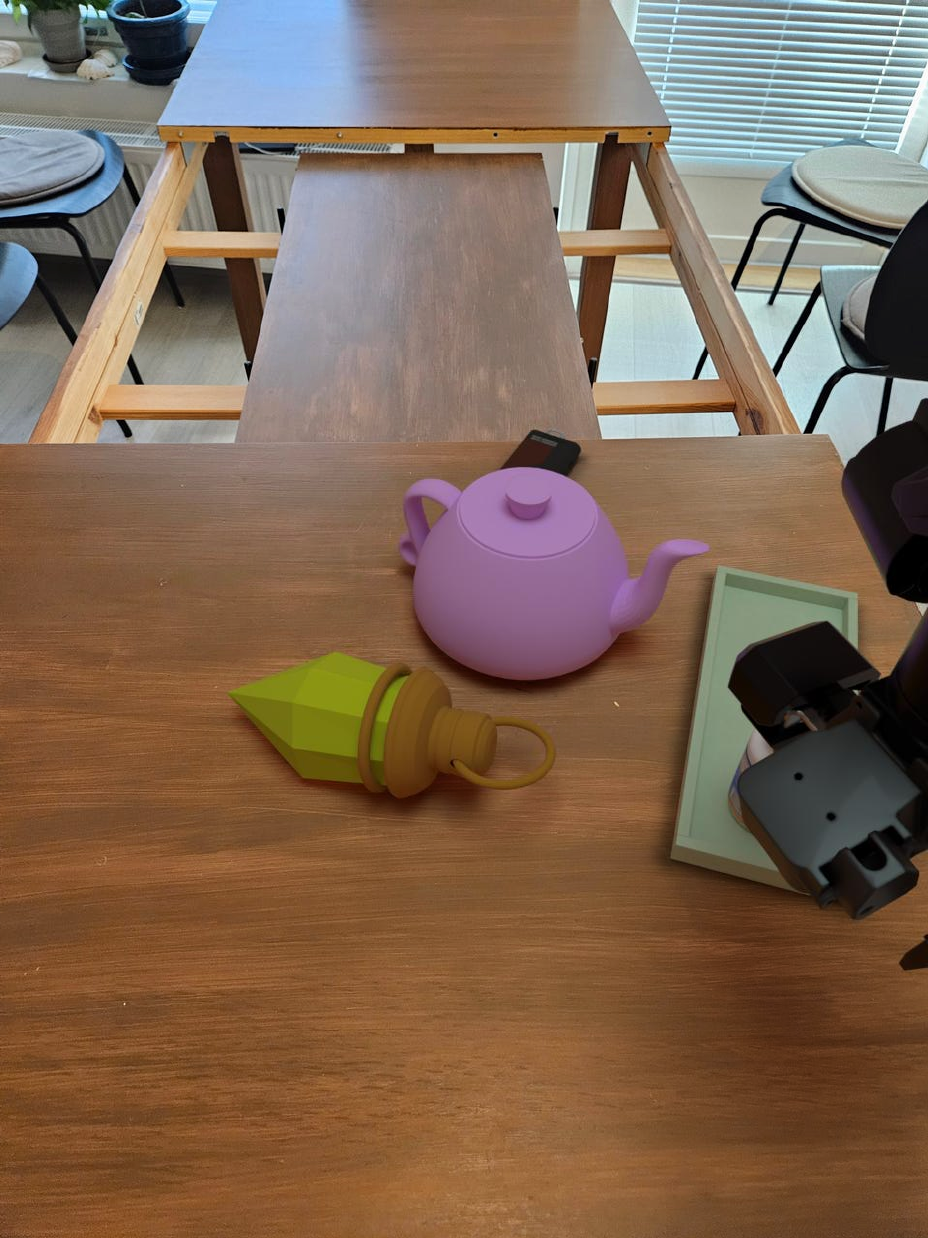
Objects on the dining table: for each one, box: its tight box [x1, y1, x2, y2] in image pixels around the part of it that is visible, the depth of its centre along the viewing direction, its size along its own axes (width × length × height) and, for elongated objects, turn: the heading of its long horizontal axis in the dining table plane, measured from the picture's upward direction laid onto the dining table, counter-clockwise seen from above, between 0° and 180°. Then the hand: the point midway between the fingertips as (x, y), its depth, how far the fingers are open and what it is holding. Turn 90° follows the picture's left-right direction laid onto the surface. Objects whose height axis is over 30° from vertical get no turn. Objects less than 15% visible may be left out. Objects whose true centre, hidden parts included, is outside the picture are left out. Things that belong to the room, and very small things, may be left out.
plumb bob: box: [226, 651, 557, 799], centre depth 62 cm, size 9×9×25 cm
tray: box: [669, 564, 859, 896], centre depth 67 cm, size 28×12×2 cm, turn 163°
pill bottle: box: [728, 729, 773, 830], centre depth 59 cm, size 5×5×10 cm
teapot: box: [397, 467, 710, 681], centre depth 70 cm, size 25×18×14 cm
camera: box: [499, 427, 582, 477], centre depth 86 cm, size 6×3×11 cm
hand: (845, 882), depth 46 cm, fingers open, 9 cm apart
